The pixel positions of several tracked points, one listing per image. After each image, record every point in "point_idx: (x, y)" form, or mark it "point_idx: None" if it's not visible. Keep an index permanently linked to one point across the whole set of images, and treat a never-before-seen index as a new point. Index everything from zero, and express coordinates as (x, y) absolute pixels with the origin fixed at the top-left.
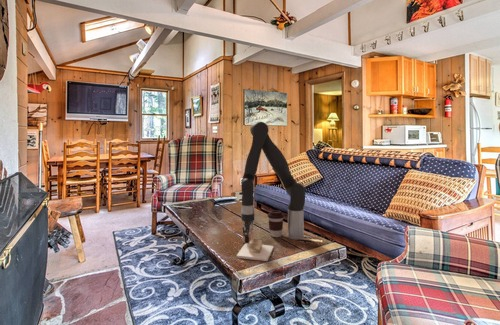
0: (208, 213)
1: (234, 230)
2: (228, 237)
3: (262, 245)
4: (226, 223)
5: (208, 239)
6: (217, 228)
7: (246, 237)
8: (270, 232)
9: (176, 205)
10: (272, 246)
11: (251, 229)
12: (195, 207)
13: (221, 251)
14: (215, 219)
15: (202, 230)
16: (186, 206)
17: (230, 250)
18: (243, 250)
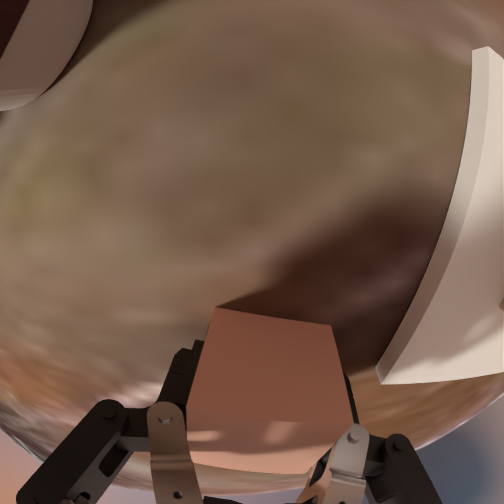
0: (10, 422)
1: (71, 407)
2: None
3: (488, 188)
4: (27, 409)
5: (247, 487)
6: None
7: None
8: (19, 84)
9: (30, 453)
10: (502, 64)
11: (192, 465)
12: (9, 431)
13: (420, 438)
14: (28, 425)
15: (147, 482)
16: (19, 442)
17: (428, 415)
18: (501, 355)
